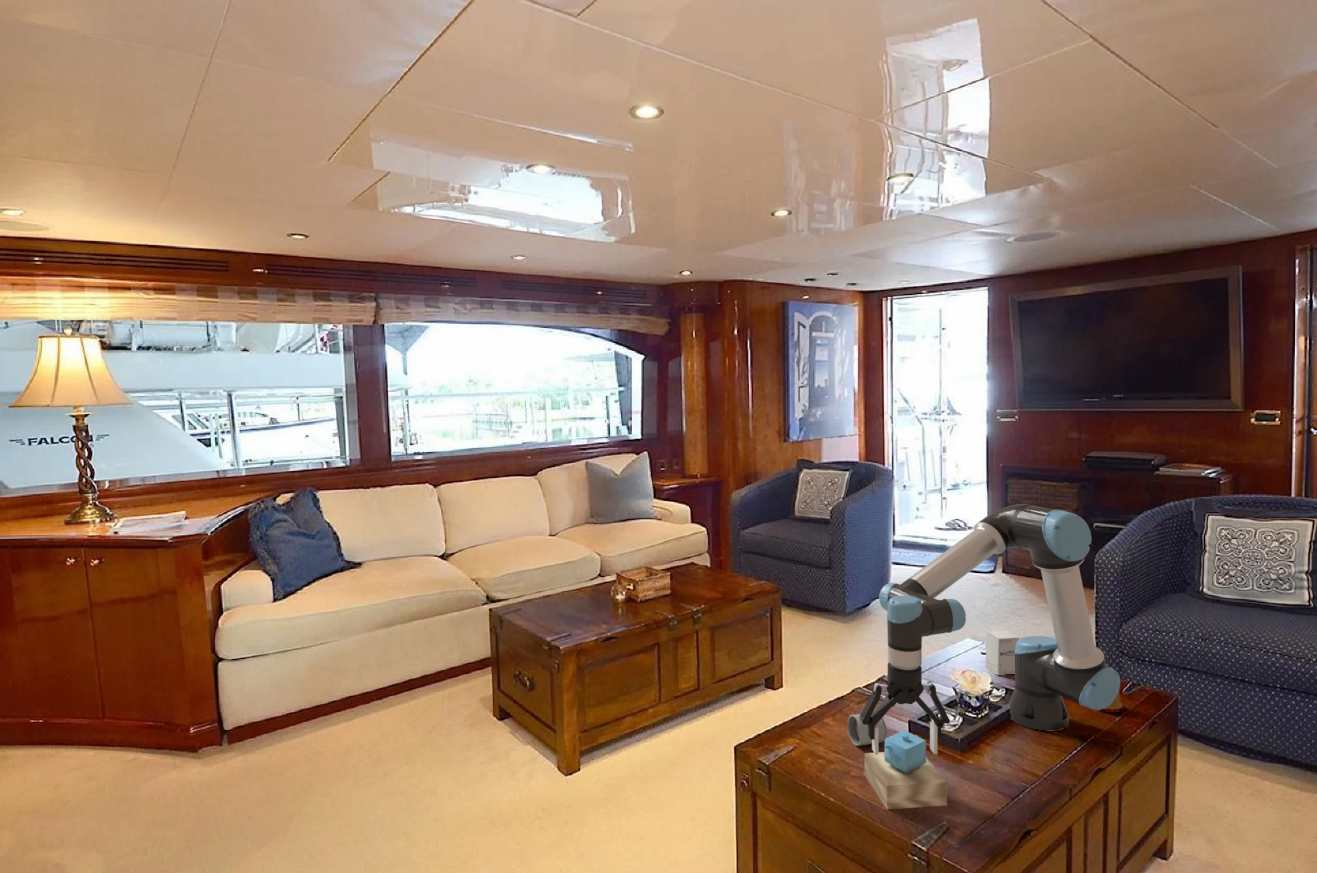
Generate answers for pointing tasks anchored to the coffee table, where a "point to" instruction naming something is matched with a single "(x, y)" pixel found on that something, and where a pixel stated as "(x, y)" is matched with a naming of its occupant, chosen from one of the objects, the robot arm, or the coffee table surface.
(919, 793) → the maple block
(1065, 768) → the coffee table surface
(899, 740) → the blue notched cube block
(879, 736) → the ceramic mug
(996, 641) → the supplement box
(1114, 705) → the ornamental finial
